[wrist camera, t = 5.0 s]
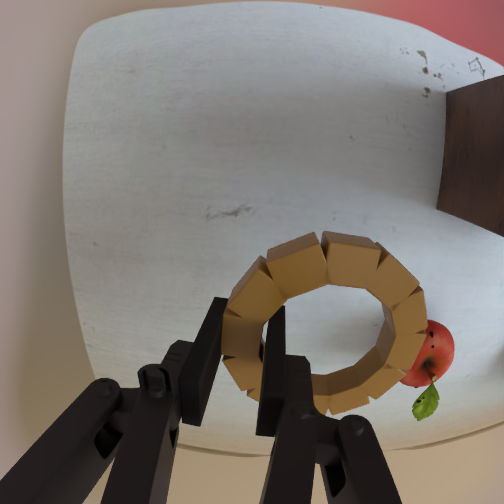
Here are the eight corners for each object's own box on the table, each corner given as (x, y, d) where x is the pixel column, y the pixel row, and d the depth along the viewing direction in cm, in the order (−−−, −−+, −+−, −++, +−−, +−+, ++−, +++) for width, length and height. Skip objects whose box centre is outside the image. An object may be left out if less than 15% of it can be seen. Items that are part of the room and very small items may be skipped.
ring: (236, 218, 14) (230, 228, 12) (435, 249, 14) (453, 261, 12) (222, 384, 18) (216, 405, 16) (378, 396, 17) (385, 416, 15)
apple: (384, 310, 27) (420, 371, 18) (439, 300, 26) (485, 352, 17) (378, 366, 29) (402, 430, 20) (428, 356, 28) (461, 411, 19)
